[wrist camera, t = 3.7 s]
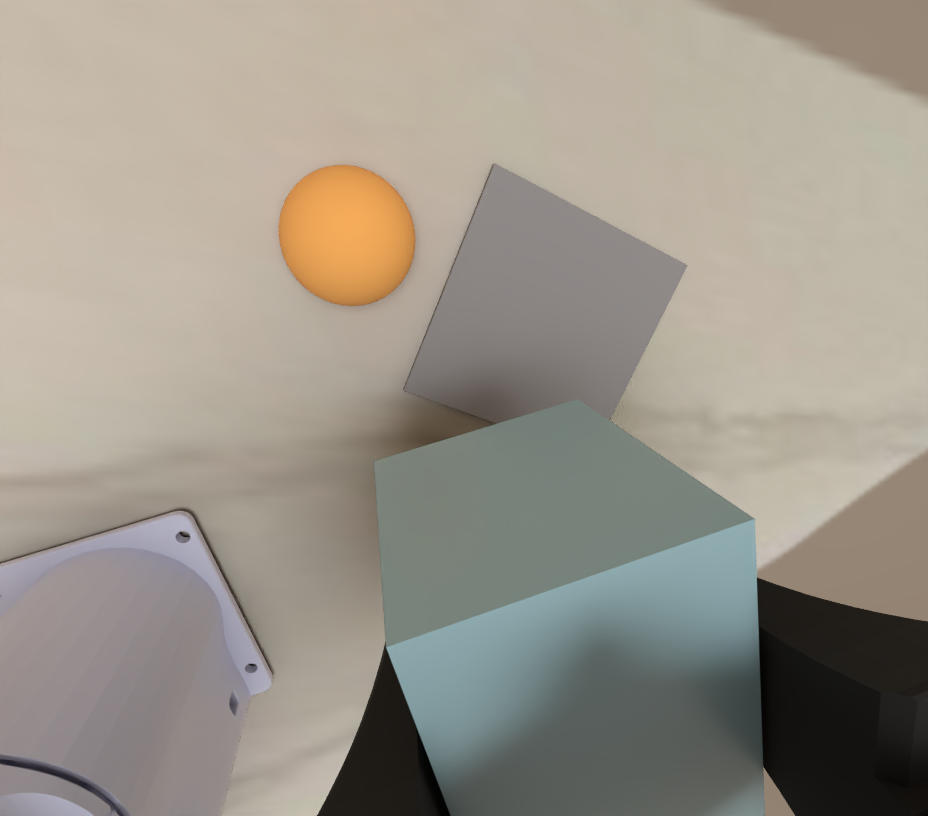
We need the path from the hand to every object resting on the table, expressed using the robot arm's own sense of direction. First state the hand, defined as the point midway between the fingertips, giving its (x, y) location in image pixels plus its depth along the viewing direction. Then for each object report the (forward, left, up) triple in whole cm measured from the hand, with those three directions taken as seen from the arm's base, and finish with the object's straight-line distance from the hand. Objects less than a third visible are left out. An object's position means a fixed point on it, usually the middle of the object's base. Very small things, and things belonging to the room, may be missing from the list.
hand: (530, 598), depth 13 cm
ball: (+10, +2, -7) cm, 12 cm away
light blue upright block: (0, 0, -2) cm, 2 cm away
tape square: (+5, -5, -9) cm, 11 cm away
